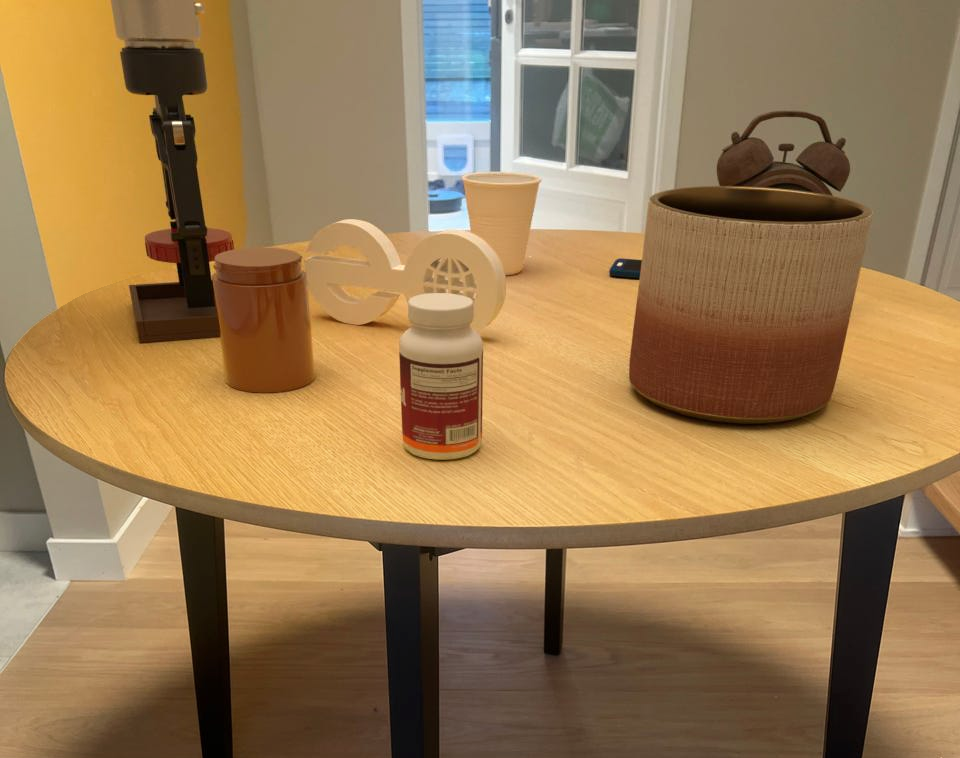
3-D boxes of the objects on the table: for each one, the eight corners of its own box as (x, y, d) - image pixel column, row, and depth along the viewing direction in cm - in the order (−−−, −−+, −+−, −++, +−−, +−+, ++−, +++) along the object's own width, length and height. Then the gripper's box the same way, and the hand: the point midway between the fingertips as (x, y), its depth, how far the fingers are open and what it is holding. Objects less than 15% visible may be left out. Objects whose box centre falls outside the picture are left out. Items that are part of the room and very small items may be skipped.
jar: (231, 396, 81) (214, 269, 76) (220, 368, 88) (204, 249, 82) (323, 387, 84) (313, 263, 78) (306, 361, 90) (295, 244, 84)
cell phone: (615, 263, 126) (616, 257, 126) (721, 271, 123) (722, 265, 123) (607, 276, 120) (608, 269, 120) (718, 284, 117) (719, 278, 117)
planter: (874, 409, 82) (925, 213, 73) (717, 445, 74) (754, 231, 65) (733, 353, 94) (762, 180, 85) (587, 379, 87) (603, 192, 78)
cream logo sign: (504, 339, 97) (507, 234, 91) (496, 344, 95) (499, 239, 90) (319, 313, 104) (312, 214, 98) (309, 318, 102) (300, 218, 97)
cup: (445, 269, 122) (444, 176, 116) (498, 258, 128) (500, 169, 122) (500, 283, 116) (502, 186, 110) (552, 271, 122) (558, 178, 116)
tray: (139, 343, 94) (135, 321, 93) (132, 304, 106) (128, 284, 105) (274, 332, 98) (272, 311, 96) (252, 295, 110) (250, 277, 108)
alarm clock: (701, 317, 105) (731, 113, 94) (687, 301, 111) (714, 106, 100) (829, 319, 106) (874, 115, 94) (809, 302, 112) (848, 109, 100)
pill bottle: (418, 427, 76) (415, 286, 70) (491, 437, 75) (495, 293, 69) (390, 456, 71) (384, 307, 65) (467, 467, 70) (469, 315, 64)
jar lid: (229, 243, 103) (227, 225, 102) (239, 261, 96) (236, 242, 95) (145, 247, 100) (142, 229, 99) (149, 265, 93) (145, 246, 92)
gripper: (215, 50, 81) (246, 319, 93) (191, 41, 97) (220, 270, 110) (123, 49, 78) (167, 325, 91) (114, 40, 95) (153, 274, 108)
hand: (196, 295), depth 100 cm, fingers closed on jar lid, 9 cm apart
